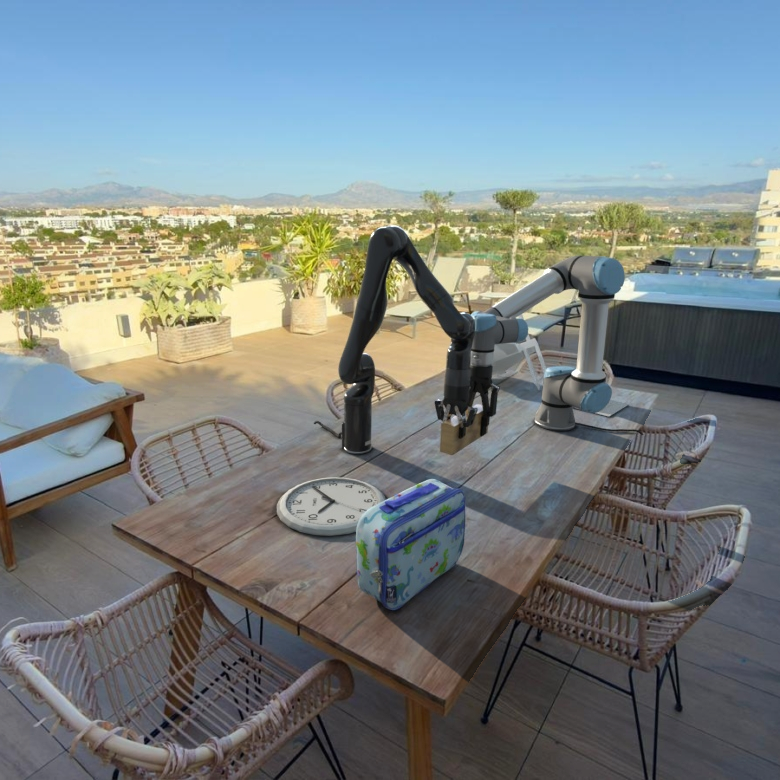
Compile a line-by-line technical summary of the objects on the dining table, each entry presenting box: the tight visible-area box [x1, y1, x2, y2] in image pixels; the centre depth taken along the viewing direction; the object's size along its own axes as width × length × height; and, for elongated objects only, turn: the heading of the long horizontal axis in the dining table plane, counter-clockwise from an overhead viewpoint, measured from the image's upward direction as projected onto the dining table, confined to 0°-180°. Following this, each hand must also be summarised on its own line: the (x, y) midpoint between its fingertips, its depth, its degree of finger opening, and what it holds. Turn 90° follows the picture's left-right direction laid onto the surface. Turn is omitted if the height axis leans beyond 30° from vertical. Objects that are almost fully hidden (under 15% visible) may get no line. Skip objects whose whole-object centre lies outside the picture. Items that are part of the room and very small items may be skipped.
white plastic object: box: [491, 313, 548, 391], centre depth 259 cm, size 37×45×31 cm
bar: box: [439, 403, 489, 456], centre depth 164 cm, size 23×4×9 cm, turn 143°
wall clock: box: [276, 476, 387, 537], centre depth 142 cm, size 30×2×30 cm
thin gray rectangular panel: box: [573, 400, 629, 418], centre depth 226 cm, size 21×1×15 cm
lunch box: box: [355, 478, 466, 611], centre depth 110 cm, size 26×11×21 cm, turn 134°
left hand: (454, 435), depth 158 cm, fingers closed on bar, 4 cm apart
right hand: (475, 432), depth 170 cm, fingers closed on bar, 4 cm apart
